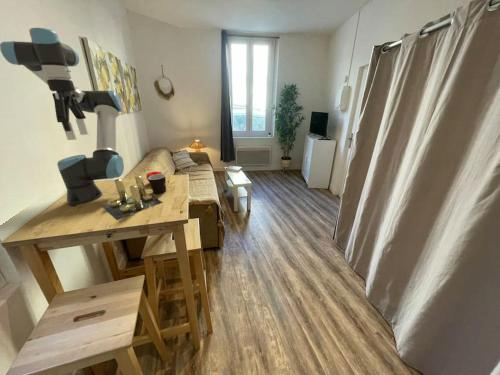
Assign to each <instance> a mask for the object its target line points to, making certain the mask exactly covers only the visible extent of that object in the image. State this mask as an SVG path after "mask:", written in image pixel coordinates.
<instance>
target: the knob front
mask: <svg viewBox="0 0 500 375" xmlns="http://www.w3.org/2000/svg"><path fill="white" fill-rule="evenodd" d="M129 191H130V193H131V197H132V198H133V202H134V204H131V205H130V204H125V205H122V206H120V211H121V212H128V211H130V210H131V208H135V209H137V210H138V209H142V208H143V205H142V201H141V198H140V194H139V190H138V186H137V184H132V185H130V186H129Z"/></svg>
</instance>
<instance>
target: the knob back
mask: <svg viewBox="0 0 500 375" xmlns="http://www.w3.org/2000/svg"><path fill="white" fill-rule="evenodd" d="M114 183H115V187H116V190H117V193H118V196H119V197H118V198H117V199H113V200H110V201H109V204H110V205H111V207H117V206H120V205H121V201H126V200H127V199H128V198H129V197H128V195H127V193H126V189H125V186H124V181H123V179H122V178H115V179H114Z"/></svg>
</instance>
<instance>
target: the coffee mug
mask: <svg viewBox="0 0 500 375" xmlns="http://www.w3.org/2000/svg"><path fill="white" fill-rule="evenodd" d="M148 179H149V181H148V182H150V183H149V184H150V187H151V190H152V192H153V194H154V195H161V194H164V193H166V192H167V183H166V182H167V181H166V175H165V174H163V173H162V174H156V175H152V176H150V177H148Z"/></svg>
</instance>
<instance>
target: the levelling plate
mask: <svg viewBox="0 0 500 375" xmlns="http://www.w3.org/2000/svg"><path fill="white" fill-rule="evenodd" d="M152 197H153V199H151V200H149V201H144V200H143V197H140V198H141V201H142V205H143V208H142V209H138V210H137V209H135V208H131V210H130V211H128V212H121V211H120V206H122V205H125V204H130V205H131V204H134V202H133V198H132V196H129V197H127V198H128V199H127V200H126V201H121V205H120V206H117V207H111V205H110V203H108V204H106V205H102V206H101V208H102V209H104V210H105V211H106V212H107V213H108V214H109V215H110V216H112V218H114V219H115V220H116V221H120V220H122V219H124V218H127V217H129V216H132V215H134V214H137V213H140V212H142V211H145V210H147V209H150V208H153V207H155V206H157V205H160V204H163V201H161V200H160V199H157V198H156V197H154V196H152Z"/></svg>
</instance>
